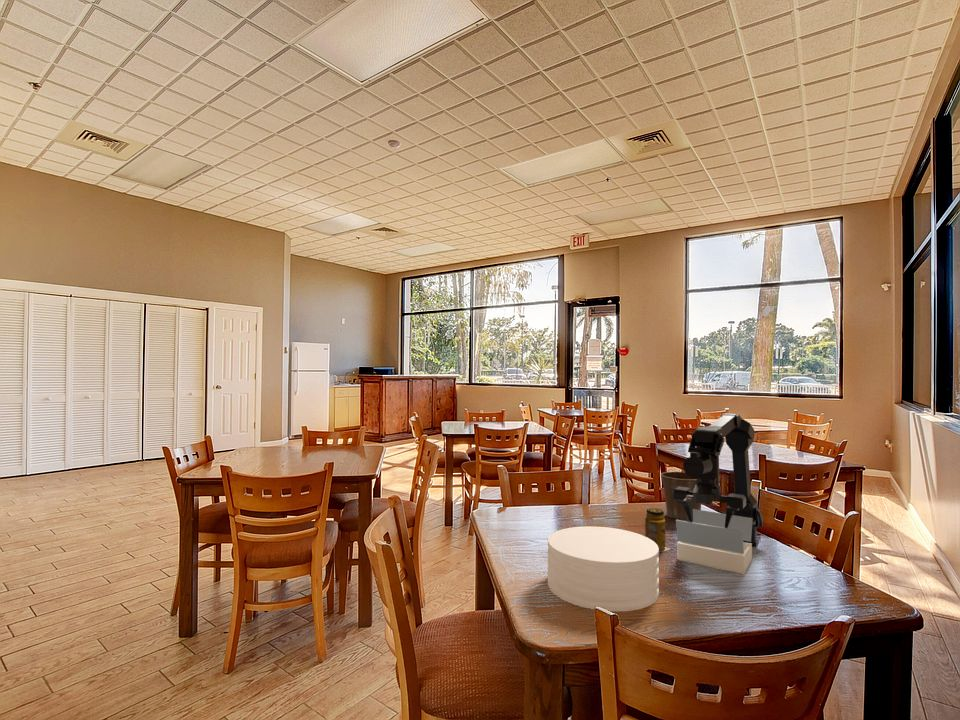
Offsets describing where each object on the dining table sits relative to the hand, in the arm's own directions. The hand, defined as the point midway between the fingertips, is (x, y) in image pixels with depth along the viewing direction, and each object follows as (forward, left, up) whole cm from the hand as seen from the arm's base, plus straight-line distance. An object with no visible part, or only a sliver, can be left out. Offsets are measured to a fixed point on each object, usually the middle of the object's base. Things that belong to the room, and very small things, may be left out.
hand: (708, 527), depth 146 cm
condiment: (-7, -18, -12) cm, 23 cm away
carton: (-7, 0, -12) cm, 14 cm away
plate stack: (+30, -19, -12) cm, 38 cm away
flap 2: (-15, 0, -3) cm, 15 cm away
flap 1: (0, 0, -3) cm, 3 cm away
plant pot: (-50, -20, -12) cm, 55 cm away
